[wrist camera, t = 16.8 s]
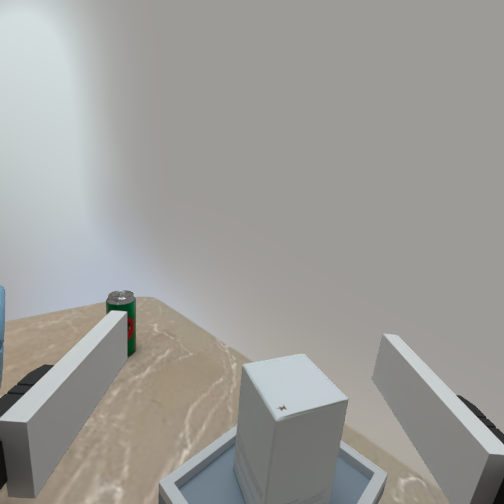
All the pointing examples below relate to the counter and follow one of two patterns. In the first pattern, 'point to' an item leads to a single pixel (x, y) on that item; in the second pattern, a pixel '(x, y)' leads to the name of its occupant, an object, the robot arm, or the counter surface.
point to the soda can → (127, 304)
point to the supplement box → (287, 432)
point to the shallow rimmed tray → (229, 492)
